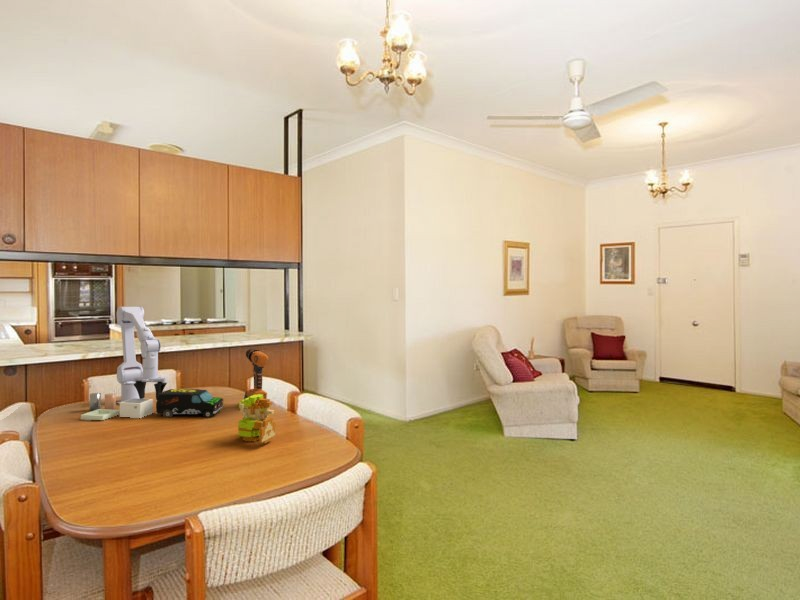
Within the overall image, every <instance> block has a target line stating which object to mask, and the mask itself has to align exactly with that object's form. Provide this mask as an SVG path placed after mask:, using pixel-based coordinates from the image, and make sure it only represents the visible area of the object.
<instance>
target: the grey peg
mask: <svg viewBox="0 0 800 600" xmlns="http://www.w3.org/2000/svg"><path fill="white" fill-rule="evenodd" d="M101 396H102V393H101V392H92V393H89V412H91V411H94V410H97V409H102V405H101V404H102V403H101V402H102V401H101V400H102V398H101Z"/></svg>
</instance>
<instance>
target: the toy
mask: <svg viewBox="0 0 800 600" xmlns="http://www.w3.org/2000/svg"><path fill="white" fill-rule="evenodd" d="M272 405H273V401H270V398H266V399H264V398H263V394H258V395H252V396H250V397H248V398H246V399H244V398H243V399H242V400H240V402H238V409H239V413H241V415H242V416H243V417H242V418H241V420H239V421H238V434H237V435H238V436H240V437H242V441H243V440H245V441H244V442H251V441H254V442H253V443H256V442H257V440H258V442H259V443H261V444H267V443H268V442H270V441H272V440H273V437H274V436H276V421H273V419H274V418H273V417H271V416H270V415H272V414H275V410H274V409H270V408H271V407H270V406H272ZM255 441H256V442H255Z"/></svg>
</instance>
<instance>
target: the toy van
mask: <svg viewBox="0 0 800 600" xmlns="http://www.w3.org/2000/svg"><path fill="white" fill-rule="evenodd" d="M223 407H224V398H222V397H219V396H217V397H215V396H213V395H212V394H211V393H210V392H209V391H208V390H207V389H197V388H174V389H173V388H170V389H167V390H163V392H162V393H160V394H159V396H158V399H157V400H156V403H155V412H154V413H155V414H156V415H157V414H160V415H162V416H163V418H173V416H174V415H202V417H203V418H205V419H206V418H207V419H208V418H213V416H214V415H215V414H217V413H220V412H221V410H222V409H223Z"/></svg>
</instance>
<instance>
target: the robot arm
mask: <svg viewBox="0 0 800 600" xmlns="http://www.w3.org/2000/svg"><path fill="white" fill-rule="evenodd" d="M144 317H145V309H144V308H143V306H141V305H140V306H119V307H118V308H117V310H116V322H117V323H116V324H117V326H120V328H121V329H120V330H121V339H122V350H123V351H122V353H123V355H122V356H123V357H122V358H123V362H122V363H121V364H120V365H118V366H117V369H116V370H117V371H116V381H117V382H118V383H119V384H120V394H121V395H120V399H121V400H120V401H117V402H116V404H117V403H118V404H119V405H120V403H121V402H124V401H127V400H130V399H133V398H137V399H145V397H146V396H145V395H146V394H145V393H146V385H147V383H154V384H153V386H154V390H155V400H156V401H157V399H158V396H159V394H160V393H162V392H164V389H165V387H166V386H167V384H168V377H163V376H159V373H158V372H159V371H158V370H159V352H160V351H161V341H160V339H159V338H157V337H155V336H154V334H153V333H152V331H151V328H149V327H147V326H146V324H145V320H144ZM134 329H136V330H137V331H136V332H135V330H134ZM135 335H136V337H137V339H138V341H139V344H140V345H139V347H140V353H141V354H140V355H141V357H142V363H141V362H138V361H137V359H136V357H137V356H136V343H135V342H136V341H135ZM118 404H117V405H118Z"/></svg>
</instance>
